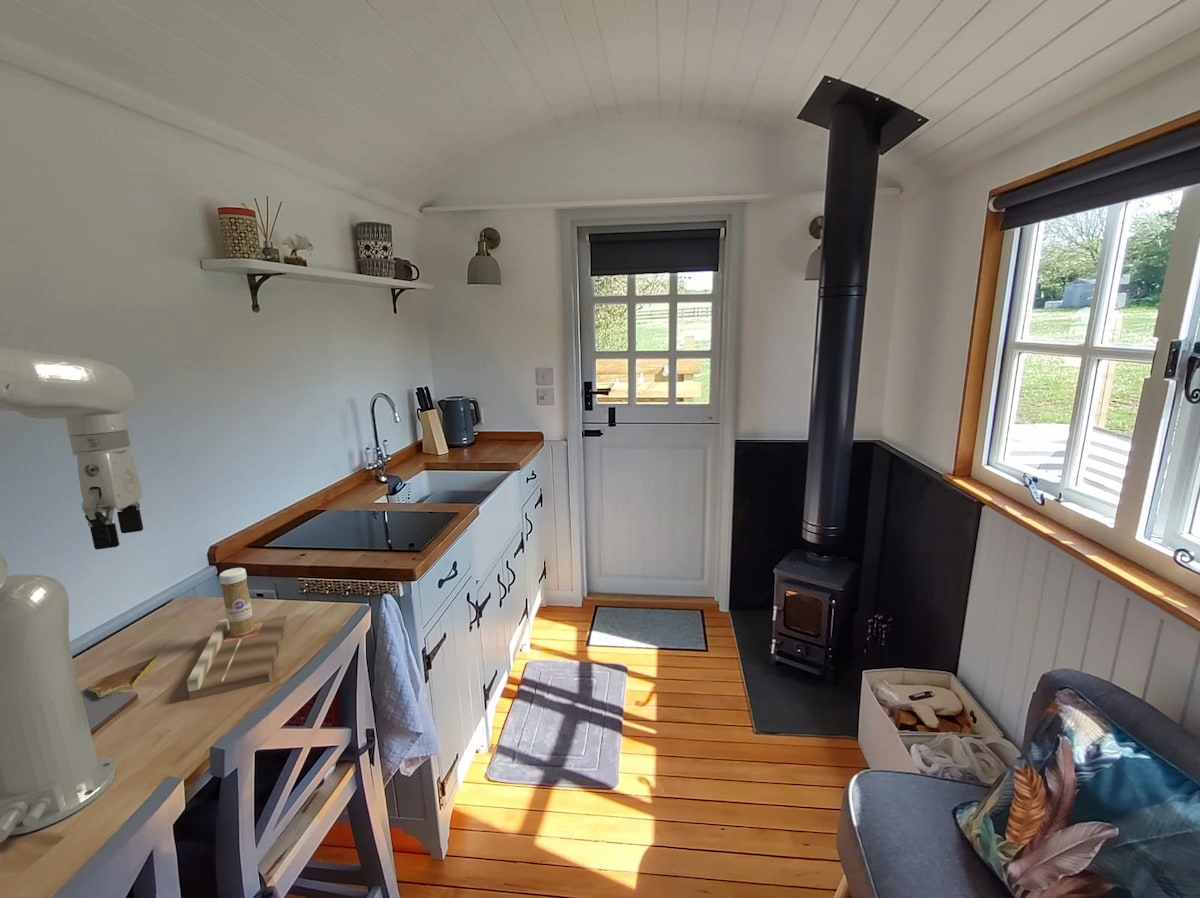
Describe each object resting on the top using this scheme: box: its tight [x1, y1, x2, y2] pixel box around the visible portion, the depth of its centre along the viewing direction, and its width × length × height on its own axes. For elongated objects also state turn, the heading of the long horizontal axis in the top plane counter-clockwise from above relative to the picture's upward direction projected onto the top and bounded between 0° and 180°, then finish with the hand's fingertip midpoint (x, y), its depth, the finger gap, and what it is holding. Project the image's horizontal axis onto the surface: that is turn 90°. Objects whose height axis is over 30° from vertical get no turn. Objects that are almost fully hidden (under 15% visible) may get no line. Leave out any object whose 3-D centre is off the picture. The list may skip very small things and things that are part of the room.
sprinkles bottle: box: [219, 567, 255, 637], centre depth 115 cm, size 5×5×13 cm
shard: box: [87, 654, 159, 697], centre depth 103 cm, size 11×8×2 cm
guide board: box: [186, 615, 288, 700], centre depth 109 cm, size 24×12×4 cm, turn 22°
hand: (120, 539), depth 98 cm, fingers open, 9 cm apart
